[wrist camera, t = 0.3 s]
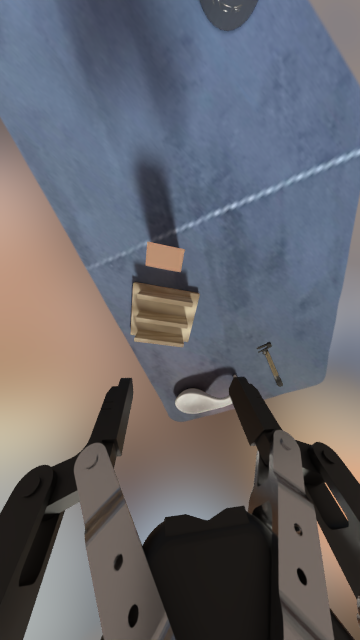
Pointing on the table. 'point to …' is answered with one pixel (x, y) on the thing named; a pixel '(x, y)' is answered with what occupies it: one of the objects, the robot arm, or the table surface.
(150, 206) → the table surface
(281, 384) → the tactical tomahawk
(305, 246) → the table surface
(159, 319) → the wooden slotted stand
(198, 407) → the spoon rest
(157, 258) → the clay slat
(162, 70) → the table surface
